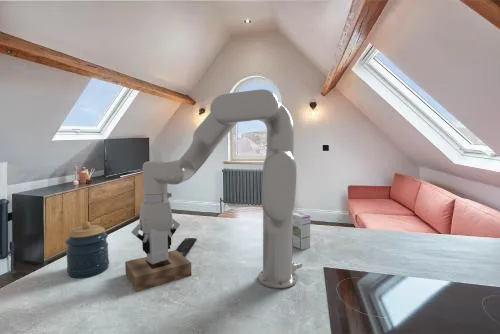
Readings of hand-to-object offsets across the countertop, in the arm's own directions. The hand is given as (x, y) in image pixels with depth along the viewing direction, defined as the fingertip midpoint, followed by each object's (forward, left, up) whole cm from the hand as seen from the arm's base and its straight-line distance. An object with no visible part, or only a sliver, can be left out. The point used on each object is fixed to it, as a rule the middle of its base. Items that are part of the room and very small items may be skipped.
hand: (157, 249), depth 95 cm
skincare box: (0, 0, -4) cm, 4 cm away
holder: (0, 0, -9) cm, 9 cm away
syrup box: (-58, +10, -9) cm, 60 cm away
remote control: (-16, -17, -10) cm, 25 cm away
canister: (+19, -18, -9) cm, 28 cm away
